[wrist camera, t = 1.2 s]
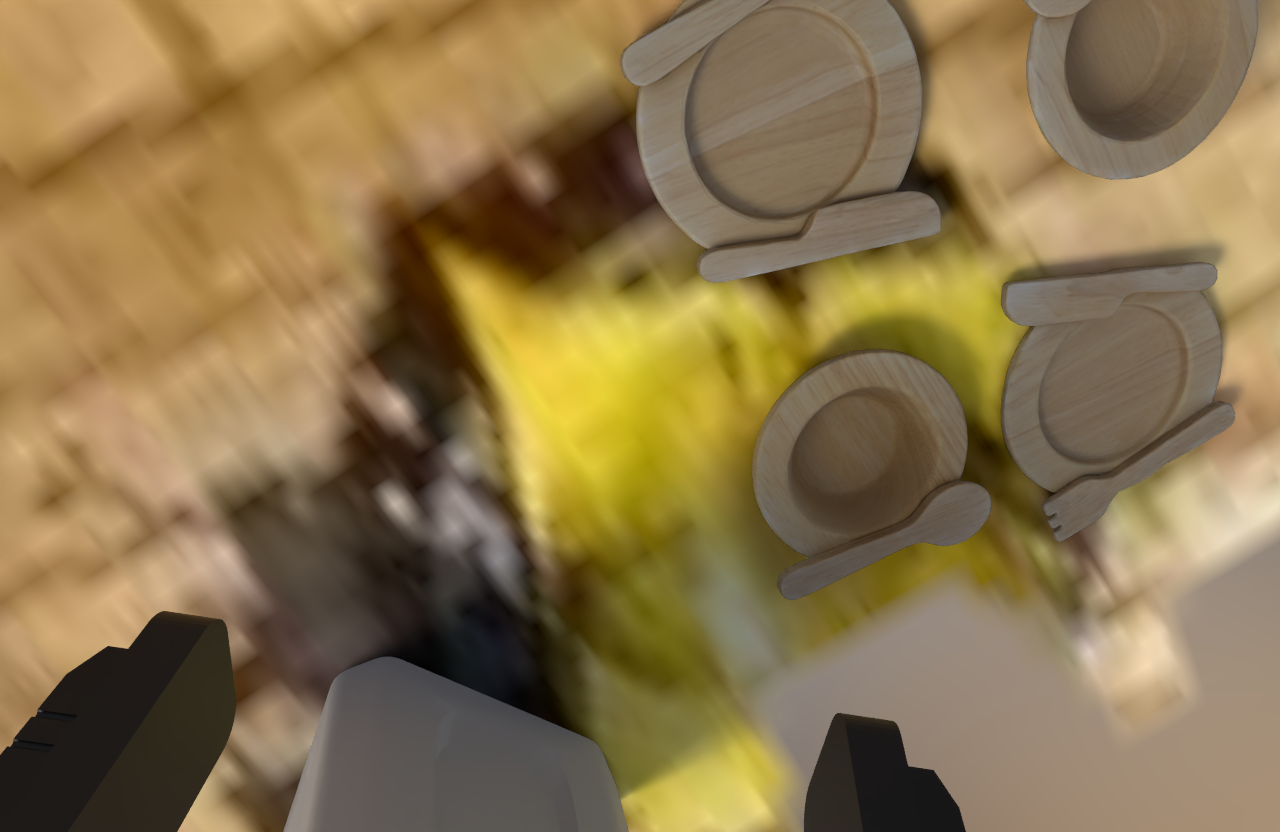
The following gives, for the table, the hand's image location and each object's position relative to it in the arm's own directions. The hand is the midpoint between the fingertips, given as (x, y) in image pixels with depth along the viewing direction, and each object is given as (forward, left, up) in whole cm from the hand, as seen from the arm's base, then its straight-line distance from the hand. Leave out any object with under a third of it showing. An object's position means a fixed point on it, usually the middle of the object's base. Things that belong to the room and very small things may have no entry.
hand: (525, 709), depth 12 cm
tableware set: (+19, +16, -32) cm, 40 cm away
